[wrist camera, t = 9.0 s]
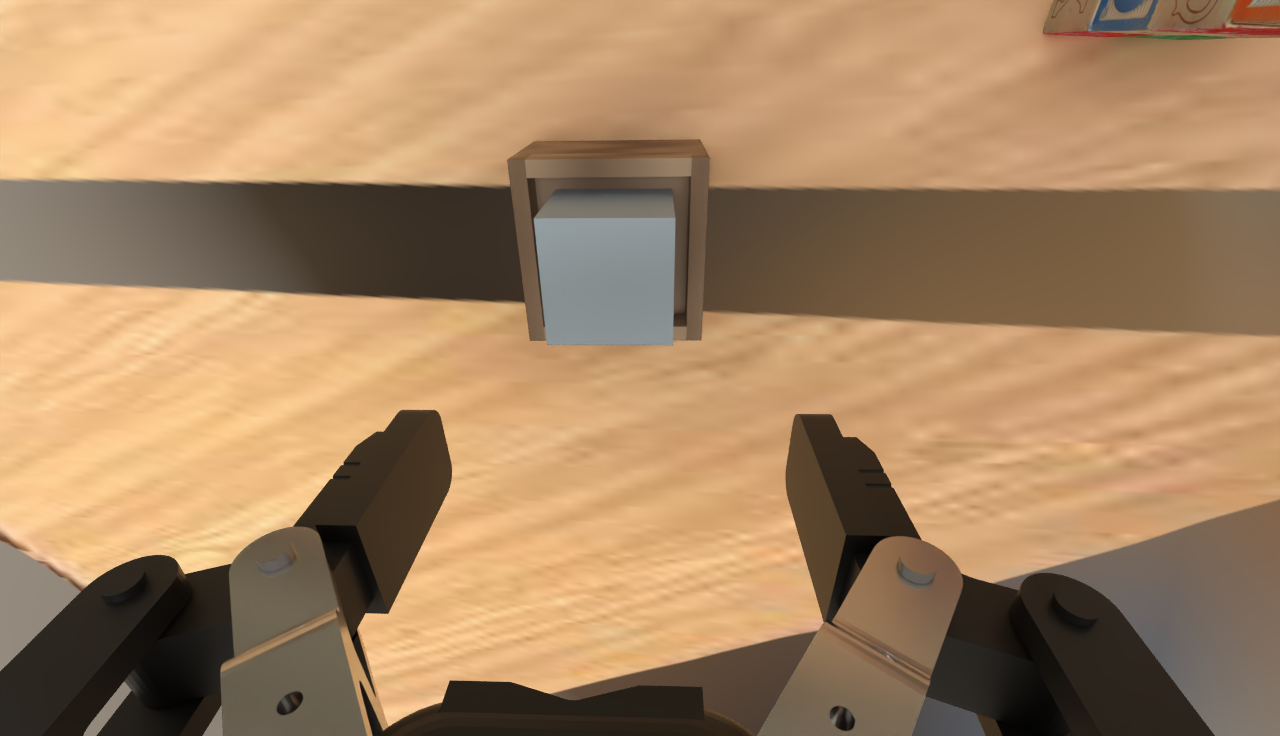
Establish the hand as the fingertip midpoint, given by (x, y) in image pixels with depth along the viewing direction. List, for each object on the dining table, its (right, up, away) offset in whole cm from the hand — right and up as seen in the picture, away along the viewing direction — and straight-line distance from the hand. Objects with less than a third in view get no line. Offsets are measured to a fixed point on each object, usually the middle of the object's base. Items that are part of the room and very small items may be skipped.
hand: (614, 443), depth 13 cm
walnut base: (0, +9, +16) cm, 18 cm away
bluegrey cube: (-1, +7, +12) cm, 14 cm away
